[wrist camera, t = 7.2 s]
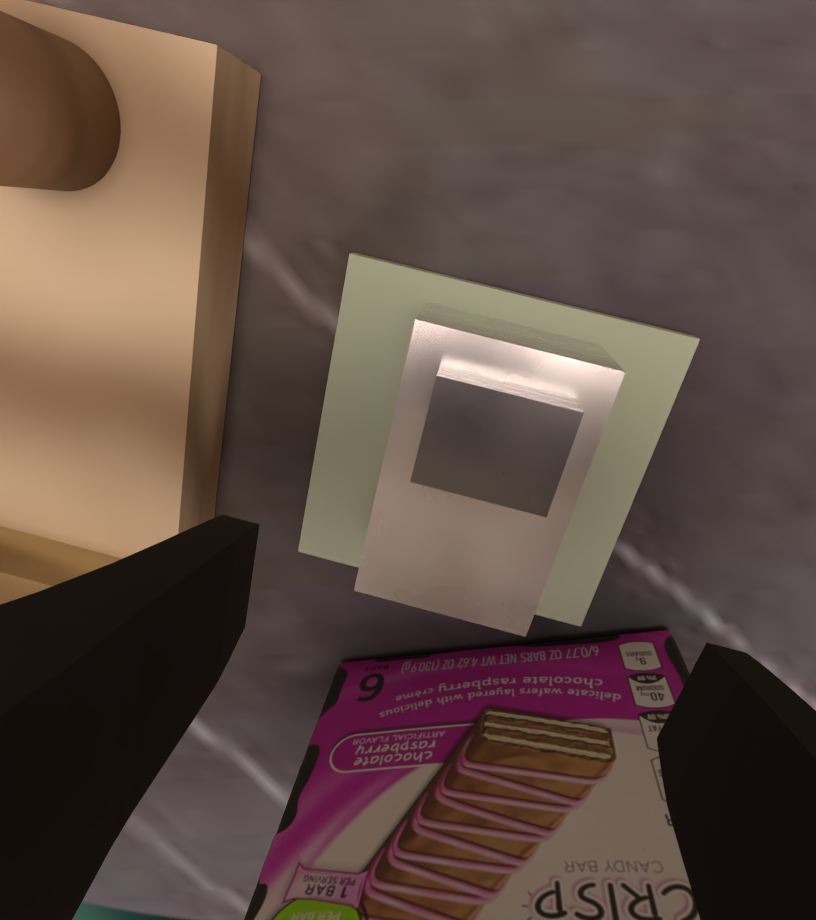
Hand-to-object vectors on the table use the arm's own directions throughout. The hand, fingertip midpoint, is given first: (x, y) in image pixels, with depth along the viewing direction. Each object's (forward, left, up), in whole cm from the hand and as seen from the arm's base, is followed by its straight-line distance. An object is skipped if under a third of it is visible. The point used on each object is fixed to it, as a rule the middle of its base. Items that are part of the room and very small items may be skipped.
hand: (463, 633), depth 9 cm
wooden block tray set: (-1, +11, -8) cm, 14 cm away
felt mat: (0, 0, -8) cm, 8 cm away
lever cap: (0, 0, -8) cm, 8 cm away
